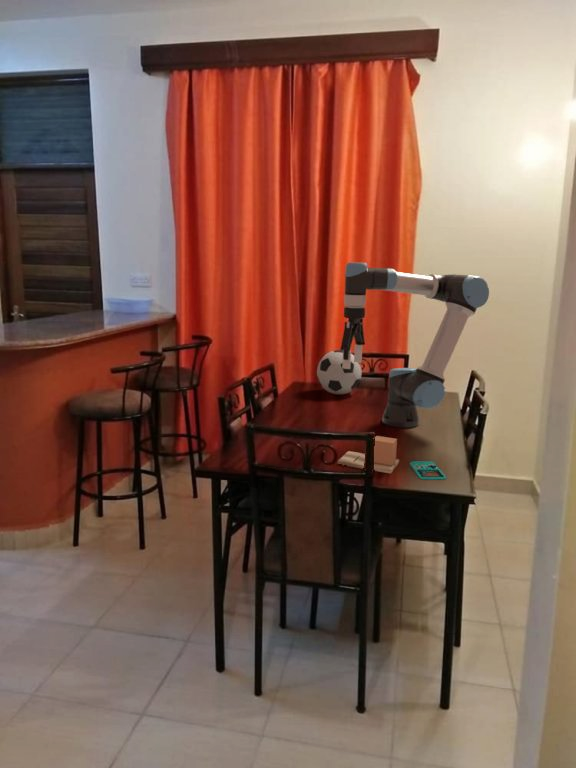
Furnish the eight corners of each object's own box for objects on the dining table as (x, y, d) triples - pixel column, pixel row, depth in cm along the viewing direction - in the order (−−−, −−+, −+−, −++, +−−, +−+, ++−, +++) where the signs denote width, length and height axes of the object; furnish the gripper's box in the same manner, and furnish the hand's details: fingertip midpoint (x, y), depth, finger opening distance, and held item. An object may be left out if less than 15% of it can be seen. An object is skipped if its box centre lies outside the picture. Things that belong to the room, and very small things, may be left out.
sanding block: (375, 458, 194) (376, 435, 192) (395, 461, 191) (397, 438, 189) (370, 463, 189) (372, 440, 188) (391, 466, 187) (393, 443, 185)
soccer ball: (307, 392, 289) (308, 349, 284) (339, 386, 302) (341, 345, 297) (336, 401, 272) (338, 355, 267) (369, 395, 285) (372, 351, 280)
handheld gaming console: (432, 460, 195) (447, 477, 180) (432, 463, 195) (447, 480, 180) (408, 460, 194) (421, 477, 179) (408, 463, 194) (420, 481, 180)
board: (348, 454, 201) (348, 450, 201) (399, 462, 194) (399, 459, 194) (337, 464, 191) (337, 460, 191) (390, 473, 184) (390, 470, 184)
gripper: (355, 303, 218) (352, 358, 222) (332, 309, 195) (330, 370, 200) (374, 304, 215) (371, 360, 219) (354, 310, 192) (351, 372, 197)
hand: (352, 365), depth 210 cm, fingers open, 13 cm apart
